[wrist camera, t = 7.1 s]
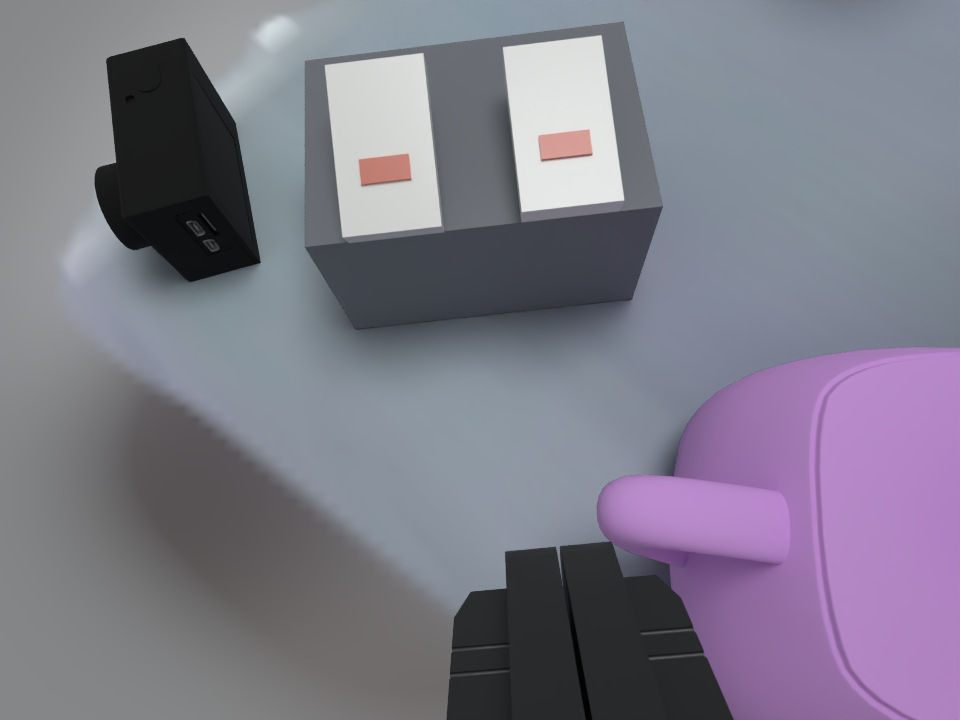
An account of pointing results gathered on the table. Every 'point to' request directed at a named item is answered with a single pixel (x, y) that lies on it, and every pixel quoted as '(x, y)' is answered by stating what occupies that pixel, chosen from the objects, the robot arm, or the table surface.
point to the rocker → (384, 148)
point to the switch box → (483, 201)
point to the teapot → (817, 535)
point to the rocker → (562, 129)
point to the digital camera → (175, 164)
